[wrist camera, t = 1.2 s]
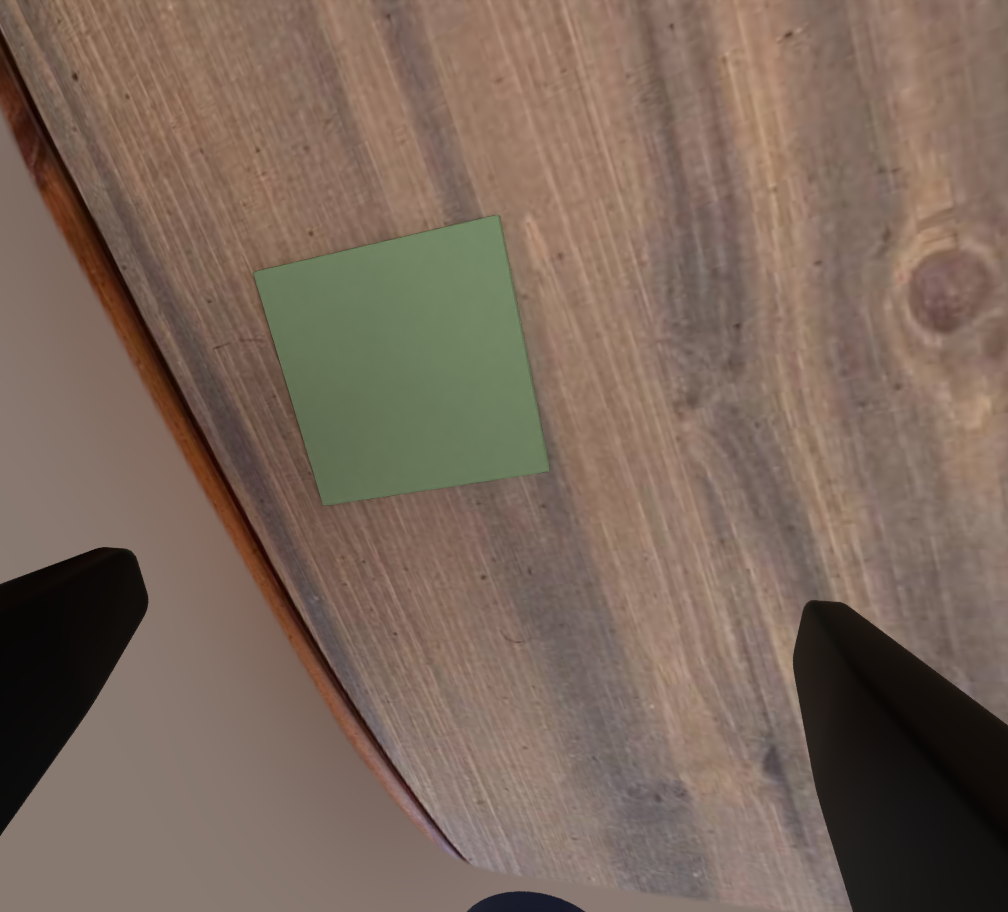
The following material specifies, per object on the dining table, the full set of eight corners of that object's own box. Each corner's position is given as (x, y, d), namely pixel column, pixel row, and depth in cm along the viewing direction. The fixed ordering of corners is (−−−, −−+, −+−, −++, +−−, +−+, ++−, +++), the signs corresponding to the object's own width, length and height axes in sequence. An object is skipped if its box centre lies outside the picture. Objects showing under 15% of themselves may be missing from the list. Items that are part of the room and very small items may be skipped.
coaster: (550, 468, 22) (548, 472, 21) (327, 502, 23) (322, 506, 23) (499, 215, 20) (497, 214, 19) (258, 271, 21) (251, 272, 21)
